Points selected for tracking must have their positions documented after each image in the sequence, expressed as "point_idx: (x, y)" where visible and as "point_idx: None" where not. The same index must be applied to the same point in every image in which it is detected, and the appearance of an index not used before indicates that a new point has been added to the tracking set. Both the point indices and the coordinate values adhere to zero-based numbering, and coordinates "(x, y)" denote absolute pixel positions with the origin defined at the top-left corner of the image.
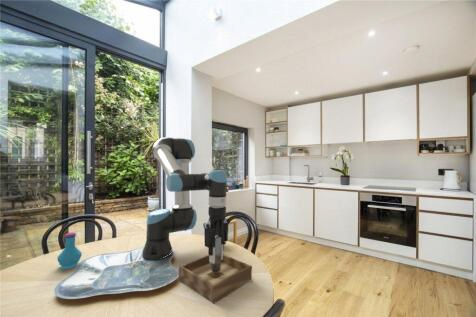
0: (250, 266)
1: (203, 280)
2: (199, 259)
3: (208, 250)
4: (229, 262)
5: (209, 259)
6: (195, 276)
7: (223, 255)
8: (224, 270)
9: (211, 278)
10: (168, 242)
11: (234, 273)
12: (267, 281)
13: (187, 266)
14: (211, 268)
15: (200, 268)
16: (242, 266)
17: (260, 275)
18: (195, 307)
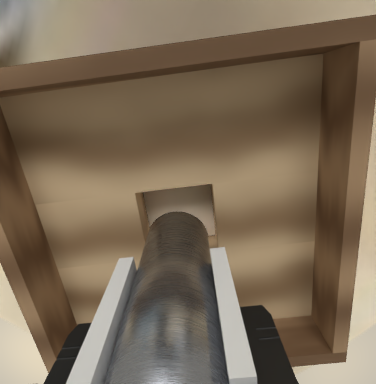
0: (335, 361)
1: (29, 328)
2: (130, 70)
3: (50, 370)
4: (326, 196)
5: (114, 273)
6: (6, 268)
7: (350, 139)
8: (247, 220)
9: (135, 242)
10: None
11: (265, 274)
12: None
13: (11, 90)
14: (147, 236)
15: (139, 101)
16: (325, 302)
17: (371, 300)
18: (17, 304)
